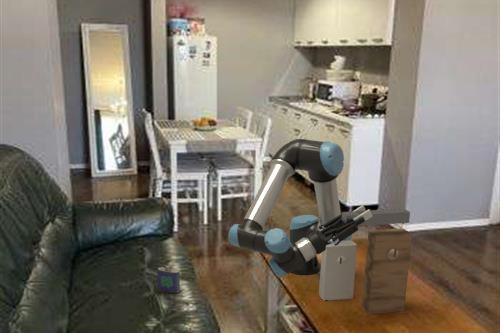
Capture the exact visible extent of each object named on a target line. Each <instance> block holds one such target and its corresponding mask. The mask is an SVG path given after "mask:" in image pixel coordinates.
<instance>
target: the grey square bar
mask: <svg viewBox="0 0 500 333" xmlns="http://www.w3.org/2000/svg"><path fill="white" fill-rule="evenodd" d="M370 211H371V213H372V215H373V216H372V217H371V218H369V219H368V220H366V221H364V222H363V223H361V224H360V225H358V227H364V226H367V227H368V226H380V225H394V224H396V225H397V224H409V223H410V217H411V211H410V210H407V209H405V208H394V209H392V208H391V209H377V210H376V209H373V210H372V209H370ZM364 212H365V211H354V210H353V212H352V211H342V212H341V214H342V221H341V223H342V224H343V225H346V224H348V223H350V222H352V221H354V220H353V219H354V218H356V217H357V216H359V215H360V214H362V213H364Z"/></svg>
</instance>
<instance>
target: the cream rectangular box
mask: <svg viewBox="0 0 500 333" xmlns="http://www.w3.org/2000/svg"><path fill="white" fill-rule="evenodd" d="M357 251H358V244H357V243H356V242H355V241H354V240H352V239H351V240H345V241H341V242H340V243H339V244H338V245H337V246H335V245H334V243H331V244H329V245H326V250H325V251H323V252H322V253H320V254H321V256H320V258H321V259H320V269H321V270H320V269H319V271H320V279H319V287H318V288H319V289H318V295H319V297H320V299H321V300H322V299H323V300H322V301H323V302H326V301H325V300H328V301H336V300H337V301H338V300H349V299H353V298H354V290H355V288H354V287H355V277H356V276H355V274H356V266H357V253H358V252H357Z"/></svg>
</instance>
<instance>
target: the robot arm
mask: <svg viewBox="0 0 500 333" xmlns="http://www.w3.org/2000/svg"><path fill="white" fill-rule="evenodd" d="M344 161H345V156H344V151H343V149H342V147H341V145H339V144H338V143H335V142H331V141H320V140H314V139H305V138H296V139H293V140H290V141H289V142H287V143H285V144H284V145H283V146H281V148H279V149H278V150H277V151H276V152H275V154H274V155H273V157H272V158H271V160H270V161H269V162H270V163H269V167H270V168H269V169H268V171H267V173H266V176H265V177H264V180H262V184H261V185H260V187H259V190H258V191H257V193H256V195H255V197H254V198H253V201H252V203H251V205H250V207H249V209H248V211H247V213H245V216H244V218H243V220H242V222H241V223H239V224H238V223H234V224H233V225H231V227H230V229H229V231H228V236H227V237H228V241H229V244H230V245H231V246H234V247H236V248H239V249H244V250H245V249H246V250H248V251H252V252H253V251H254V252H257V253H259V254H264V255H266V256H271V258H269V259H268V264H269V266H270V267H271V269H272V271H273V273H274V274H275V275H276V277H277V278H280V279H281V278H283V277H284V276H286V275H288V274H291V273H292V274H294V275H295V274H296V275H304V276H305V275H313V274H316V273H318V272H319V271H320V262H319V259H318V258H319V257H318V255H320V254H322V252H323V251H325V250H326V245H329V244H331V243H334V245H335V246H337V245H338V244H339V243H340V242H341V241H345V240H352V238H353V235H354V234H355V233H356V232H358V231H359V226H358V225H360V224H361V223H363V222H364V221H366V220H368V219H369V218H371V217H372V216H373V215H372V213H371V209H369V208H368V209H367V210H366V207H365V206H364V205H363V204H362V205H360V206H359V207H357V208H356V209H354V210H353V211H365V212H364V213H362V214H360V215H359V216H357V217H356V218H354V219H353V220H354V221H352V222H350V223H348V224H346V225H343V224H342V223H341V221H342V212H341V204H340V198H339V190H338V182H337V178H338V177H339V175H341V173H342V172H343V168H344ZM297 170H298V171H304V172H307V174H308V178H309V179H310V181H311V182H313V186H314V187H313V188H314V191H315V192H314V193H315V198H316V206H317V210H318V216H319V218H318V216H316V215H312V214H302V215H296V216H295V217H293V218H292V219H291V220H290V224H289V236H288V235H287V233H286V231H285V230H283V229H281V228H278V227H275V228H271V229H269V230H264V228H265V226H266V224H267V222H268V219H269V218H270V215H271V213H272V211H273V209H274V207H275V205H276V203H277V201H278V199H279V198H280V195H281V193H282V191H283V189H284V187H285V186H286V183H287V181H288V179H289V177H292V176H293V175H294V173H295V172H296V171H297ZM353 211H351V212H353Z"/></svg>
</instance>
